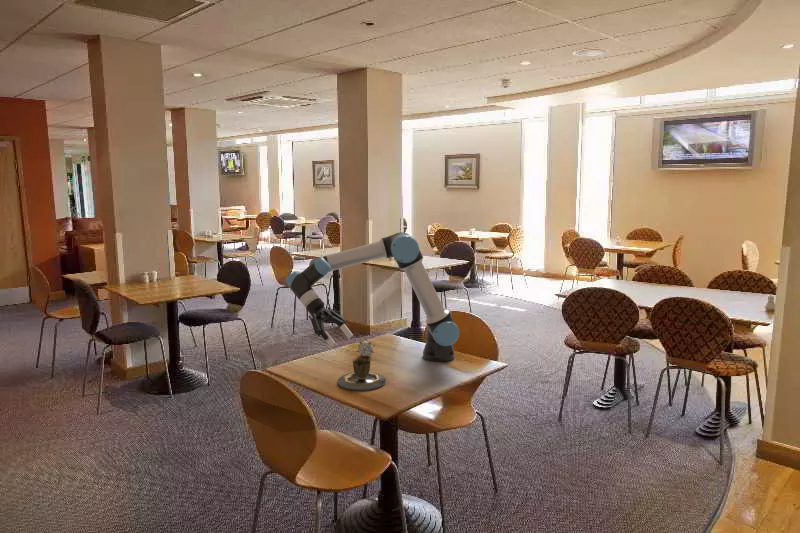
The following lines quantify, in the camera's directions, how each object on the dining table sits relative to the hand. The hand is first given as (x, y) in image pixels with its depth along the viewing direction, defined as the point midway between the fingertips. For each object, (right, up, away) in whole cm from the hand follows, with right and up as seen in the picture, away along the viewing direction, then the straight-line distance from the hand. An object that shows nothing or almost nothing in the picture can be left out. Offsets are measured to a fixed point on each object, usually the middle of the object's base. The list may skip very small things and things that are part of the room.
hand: (342, 341), depth 247 cm
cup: (+8, -16, -2) cm, 18 cm away
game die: (+8, -12, +34) cm, 37 cm away
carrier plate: (+8, -17, -2) cm, 19 cm away
